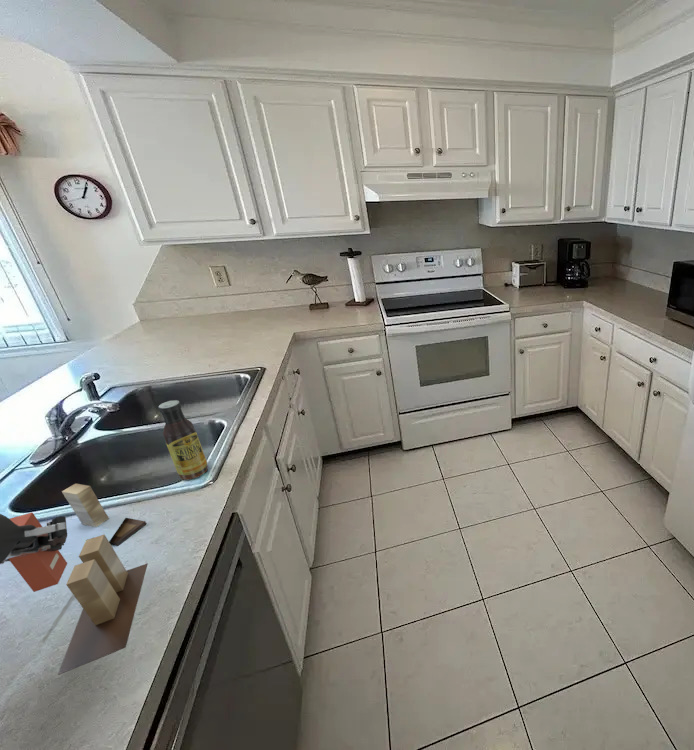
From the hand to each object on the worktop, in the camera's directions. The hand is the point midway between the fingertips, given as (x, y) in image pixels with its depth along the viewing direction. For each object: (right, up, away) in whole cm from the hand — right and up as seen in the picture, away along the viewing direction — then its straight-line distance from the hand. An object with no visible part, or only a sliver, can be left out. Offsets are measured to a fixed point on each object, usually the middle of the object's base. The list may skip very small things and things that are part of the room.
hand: (42, 547), depth 58 cm
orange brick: (+1, -4, 0) cm, 4 cm away
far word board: (-18, -9, +29) cm, 35 cm away
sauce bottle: (-12, -1, +46) cm, 47 cm away
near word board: (-2, -17, +12) cm, 20 cm away
